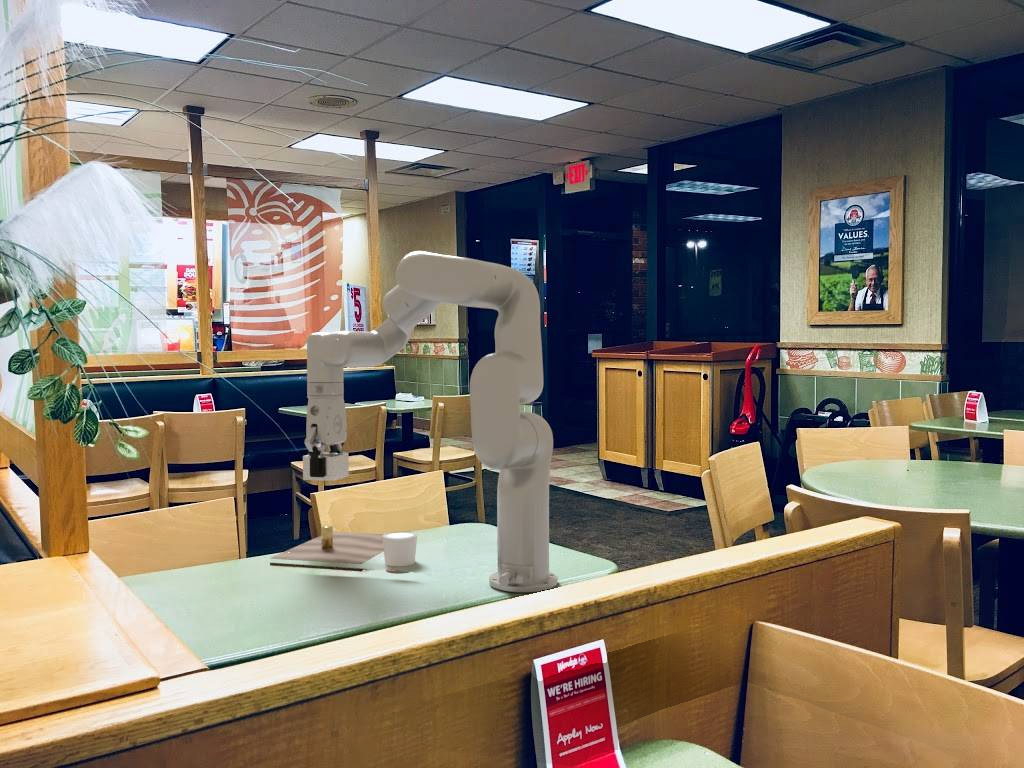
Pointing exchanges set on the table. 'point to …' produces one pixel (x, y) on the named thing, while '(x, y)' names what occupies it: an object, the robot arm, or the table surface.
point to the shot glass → (399, 549)
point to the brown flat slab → (335, 551)
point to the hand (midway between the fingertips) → (326, 473)
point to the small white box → (329, 467)
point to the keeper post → (326, 537)
